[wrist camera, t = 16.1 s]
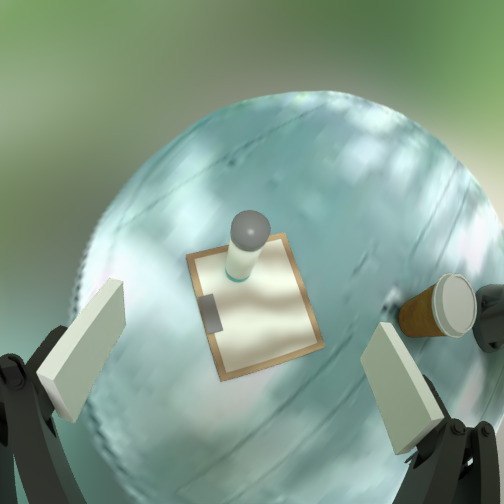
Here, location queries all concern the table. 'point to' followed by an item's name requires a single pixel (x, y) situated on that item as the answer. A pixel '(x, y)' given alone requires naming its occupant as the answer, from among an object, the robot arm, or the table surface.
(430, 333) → the disposable coffee cup
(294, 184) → the table surface
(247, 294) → the clipboard
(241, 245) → the ball
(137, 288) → the table surface
